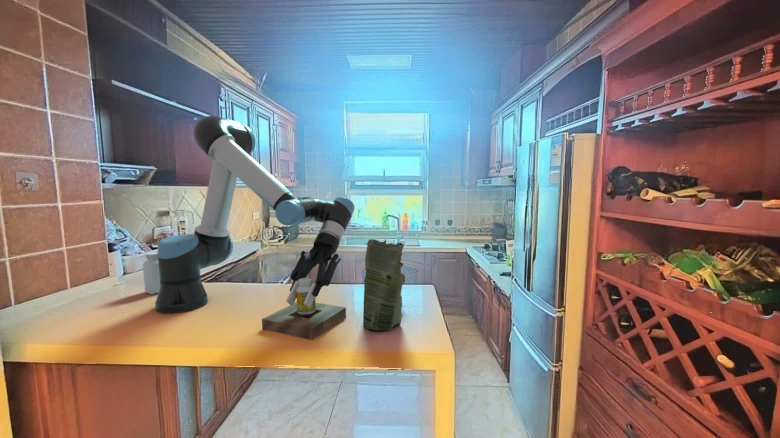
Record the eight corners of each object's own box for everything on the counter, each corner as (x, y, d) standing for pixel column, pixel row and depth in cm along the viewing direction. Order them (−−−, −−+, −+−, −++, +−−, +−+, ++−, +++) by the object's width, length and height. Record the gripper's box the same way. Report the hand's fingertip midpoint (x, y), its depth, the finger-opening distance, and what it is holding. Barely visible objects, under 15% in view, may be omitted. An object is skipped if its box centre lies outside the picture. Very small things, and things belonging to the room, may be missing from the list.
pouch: (364, 318, 104) (363, 236, 102) (404, 318, 104) (403, 236, 102) (361, 334, 93) (360, 242, 91) (405, 333, 93) (405, 242, 91)
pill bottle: (139, 294, 130) (136, 254, 128) (157, 287, 138) (154, 250, 136) (158, 295, 128) (155, 255, 127) (174, 288, 136) (172, 251, 135)
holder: (262, 329, 97) (261, 318, 97) (300, 309, 112) (300, 300, 112) (312, 339, 90) (311, 328, 90) (345, 316, 106) (345, 307, 105)
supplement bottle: (312, 306, 105) (311, 275, 104) (318, 312, 100) (317, 280, 99) (294, 310, 102) (293, 278, 101) (300, 316, 97) (299, 283, 96)
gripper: (358, 246, 110) (331, 315, 96) (310, 243, 117) (279, 306, 104) (349, 232, 104) (319, 302, 91) (300, 230, 112) (265, 294, 98)
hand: (298, 304), depth 97 cm, fingers closed on supplement bottle, 5 cm apart
